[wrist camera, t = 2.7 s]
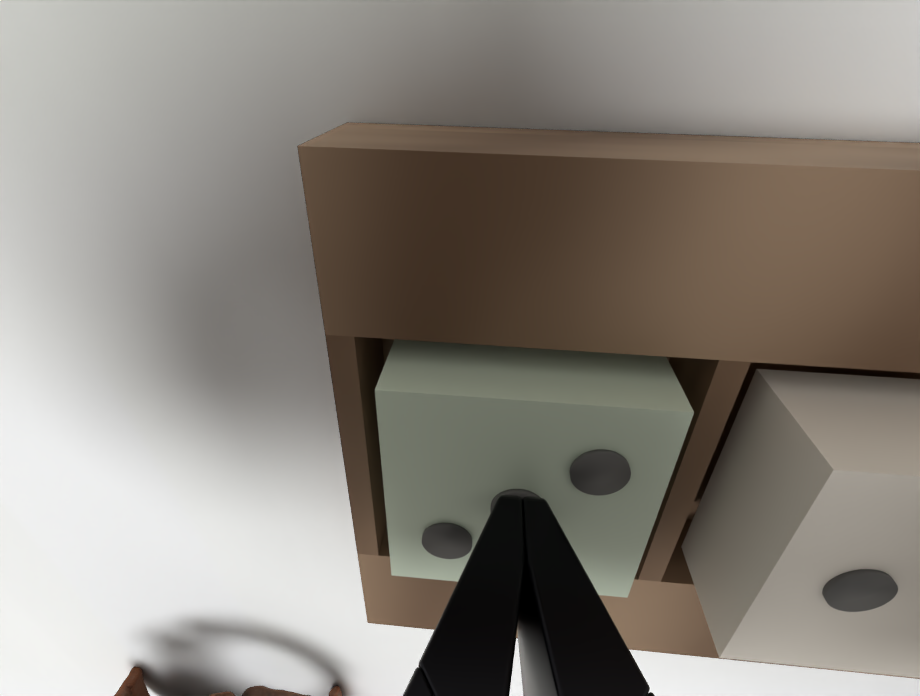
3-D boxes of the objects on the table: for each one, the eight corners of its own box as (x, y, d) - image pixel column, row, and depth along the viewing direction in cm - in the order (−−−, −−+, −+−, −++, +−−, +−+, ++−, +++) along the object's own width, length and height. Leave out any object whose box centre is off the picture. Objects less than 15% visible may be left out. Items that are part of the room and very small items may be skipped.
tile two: (1061, 388, 8) (1252, 507, 6) (908, 566, 11) (1005, 692, 9) (756, 368, 9) (837, 475, 6) (680, 546, 11) (721, 663, 9)
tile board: (1631, 168, 7) (2053, 215, 5) (1078, 607, 14) (1177, 704, 12) (347, 122, 9) (296, 146, 7) (386, 545, 15) (367, 622, 13)
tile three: (654, 333, 9) (696, 416, 7) (607, 505, 12) (628, 602, 10) (402, 318, 10) (373, 393, 8) (410, 488, 12) (390, 579, 10)
